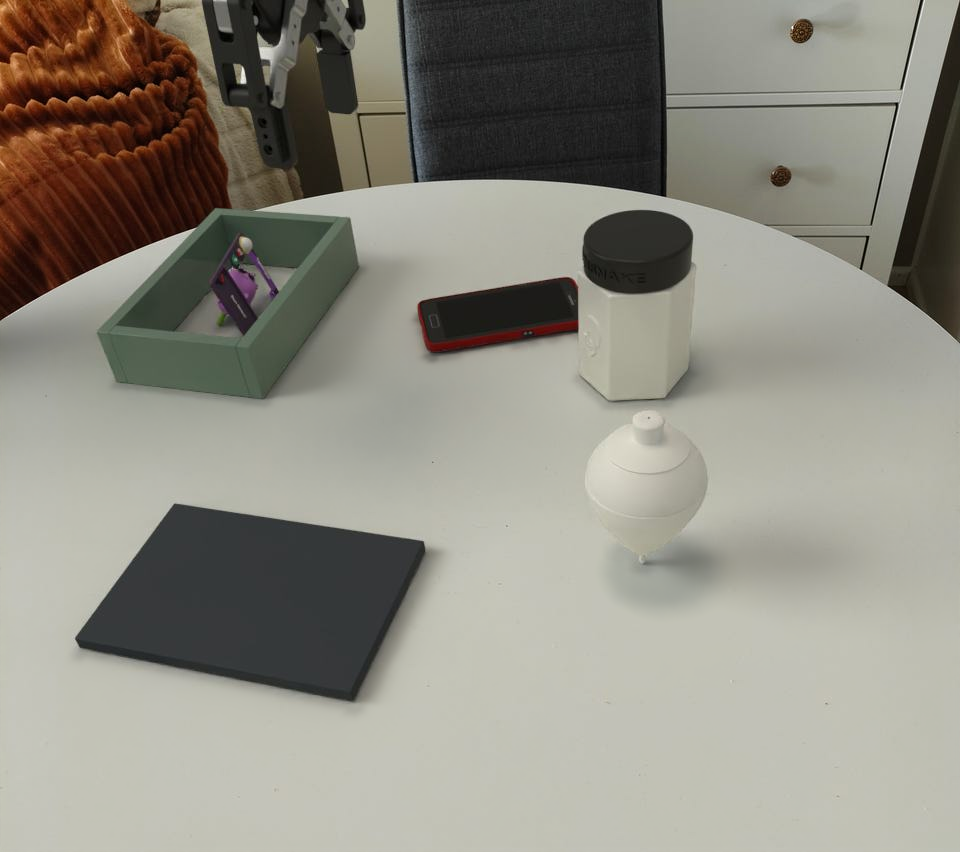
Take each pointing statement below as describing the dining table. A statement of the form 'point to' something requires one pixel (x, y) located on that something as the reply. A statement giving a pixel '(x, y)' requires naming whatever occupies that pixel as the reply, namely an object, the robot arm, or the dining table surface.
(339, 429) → the dining table surface
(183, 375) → the green rectangular tray frame
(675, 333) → the jar
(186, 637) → the mat
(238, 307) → the game card
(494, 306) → the cell phone
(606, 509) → the spinning top
